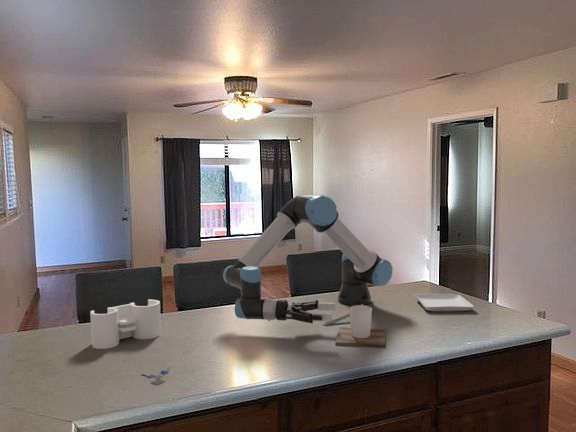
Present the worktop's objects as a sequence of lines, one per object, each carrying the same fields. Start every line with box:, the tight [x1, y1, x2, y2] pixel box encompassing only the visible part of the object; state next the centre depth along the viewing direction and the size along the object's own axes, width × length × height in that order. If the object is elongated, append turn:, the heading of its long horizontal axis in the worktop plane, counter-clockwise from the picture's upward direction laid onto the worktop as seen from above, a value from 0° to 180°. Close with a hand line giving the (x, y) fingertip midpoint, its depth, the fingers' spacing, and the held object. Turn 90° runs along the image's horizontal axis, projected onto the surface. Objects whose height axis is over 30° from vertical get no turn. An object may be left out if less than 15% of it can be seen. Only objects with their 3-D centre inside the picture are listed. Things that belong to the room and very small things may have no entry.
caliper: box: [322, 304, 364, 327], centre depth 195 cm, size 20×1×6 cm, turn 118°
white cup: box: [349, 305, 373, 338], centre depth 175 cm, size 8×8×10 cm
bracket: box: [89, 299, 162, 350], centre depth 176 cm, size 25×10×12 cm, turn 131°
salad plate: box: [413, 293, 475, 312], centre depth 216 cm, size 21×21×3 cm
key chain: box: [140, 365, 172, 386], centre depth 145 cm, size 14×8×1 cm, turn 4°
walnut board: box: [335, 326, 386, 349], centre depth 176 cm, size 17×17×1 cm
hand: (333, 312), depth 177 cm, fingers open, 13 cm apart
